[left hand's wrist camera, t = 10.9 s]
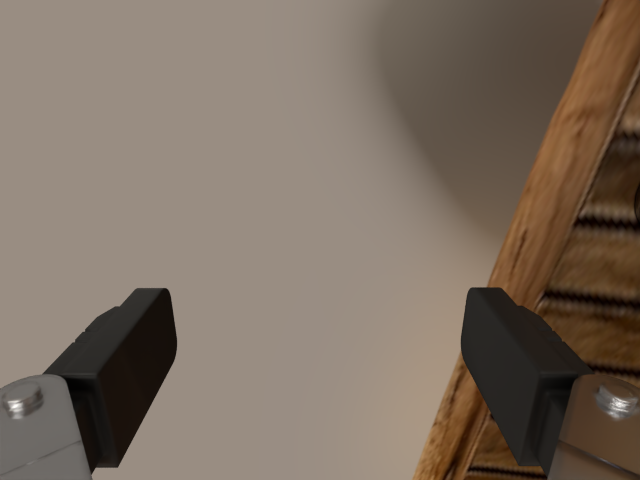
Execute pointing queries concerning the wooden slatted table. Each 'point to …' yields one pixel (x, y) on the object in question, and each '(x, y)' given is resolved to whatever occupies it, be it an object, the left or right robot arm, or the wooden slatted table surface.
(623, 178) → the wooden slatted table surface
